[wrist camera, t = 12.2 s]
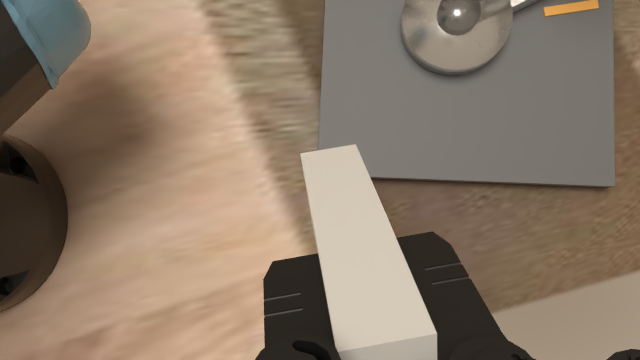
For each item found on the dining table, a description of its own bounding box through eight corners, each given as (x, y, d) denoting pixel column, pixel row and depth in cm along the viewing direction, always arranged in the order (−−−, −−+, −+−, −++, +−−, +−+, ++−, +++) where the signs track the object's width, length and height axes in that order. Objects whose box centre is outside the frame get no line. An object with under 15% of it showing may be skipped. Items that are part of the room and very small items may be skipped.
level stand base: (318, 176, 38) (316, 174, 37) (331, -107, 40) (330, -118, 39) (606, 187, 36) (616, 186, 35) (603, -109, 38) (613, -121, 37)
